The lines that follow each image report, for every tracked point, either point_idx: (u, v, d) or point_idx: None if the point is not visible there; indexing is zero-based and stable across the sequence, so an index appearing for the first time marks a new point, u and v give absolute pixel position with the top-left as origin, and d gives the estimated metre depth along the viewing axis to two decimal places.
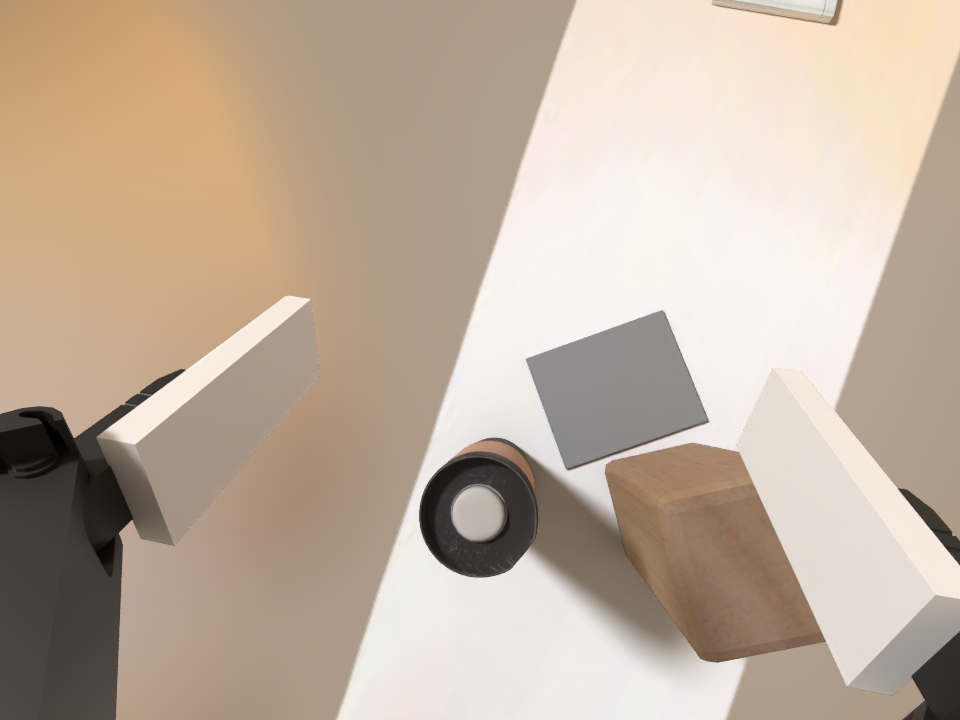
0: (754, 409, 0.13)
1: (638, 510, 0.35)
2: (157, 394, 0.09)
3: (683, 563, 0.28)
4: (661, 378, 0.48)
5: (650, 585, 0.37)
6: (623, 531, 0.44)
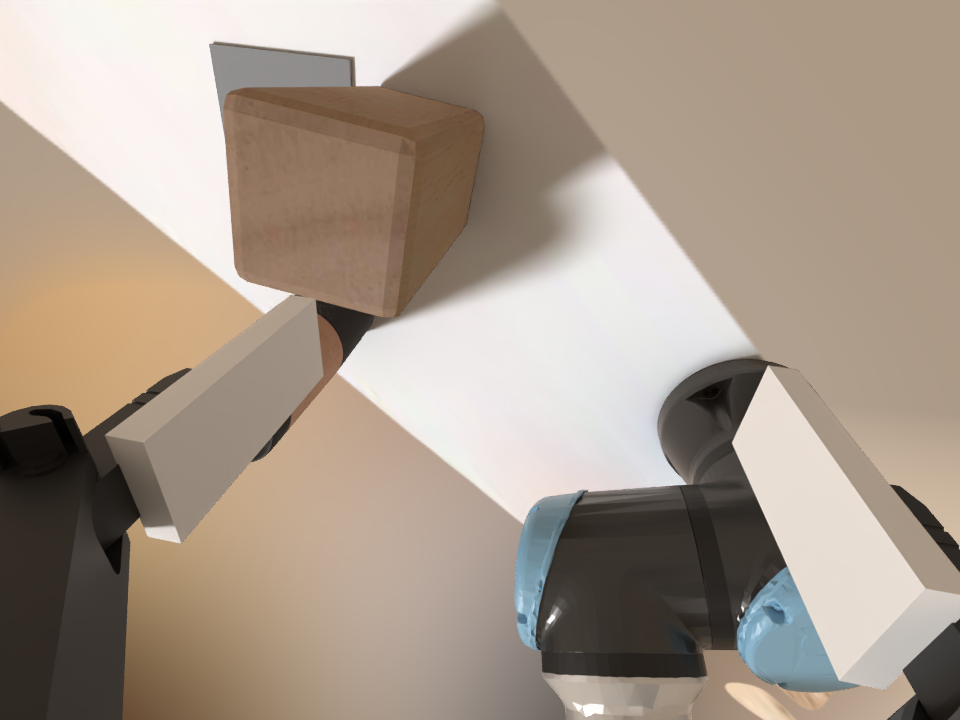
0: (750, 407, 0.13)
1: None
2: (165, 392, 0.09)
3: (295, 290, 0.26)
4: None
5: None
6: None
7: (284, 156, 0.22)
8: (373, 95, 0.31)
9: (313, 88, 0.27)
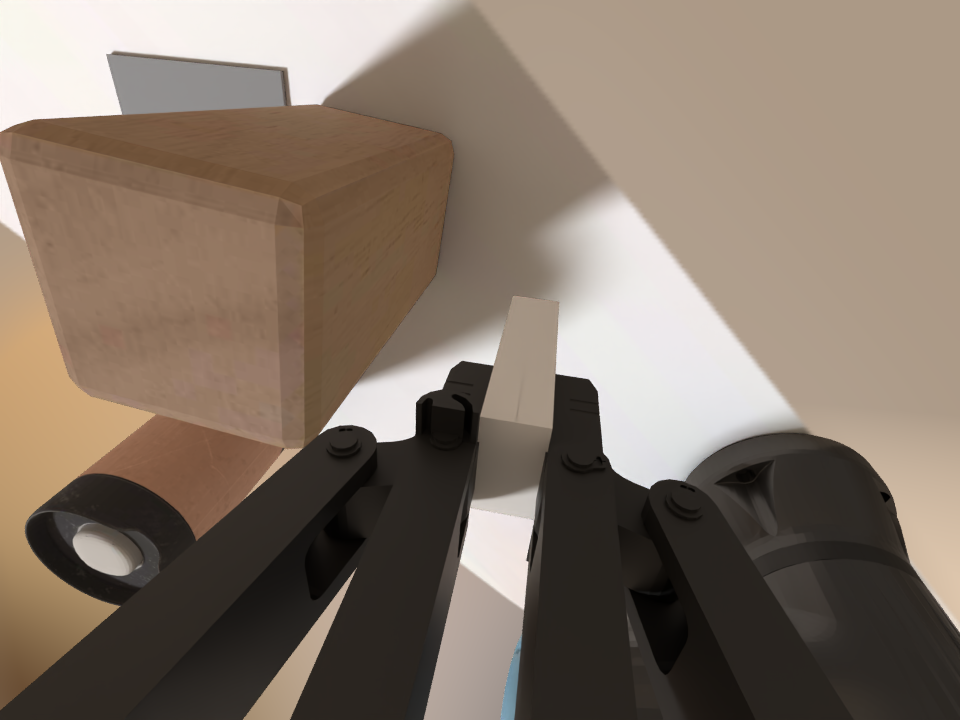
0: None
1: None
2: (492, 381, 0.11)
3: (157, 411, 0.18)
4: None
5: None
6: None
7: (100, 226, 0.14)
8: (292, 119, 0.23)
9: (191, 113, 0.19)
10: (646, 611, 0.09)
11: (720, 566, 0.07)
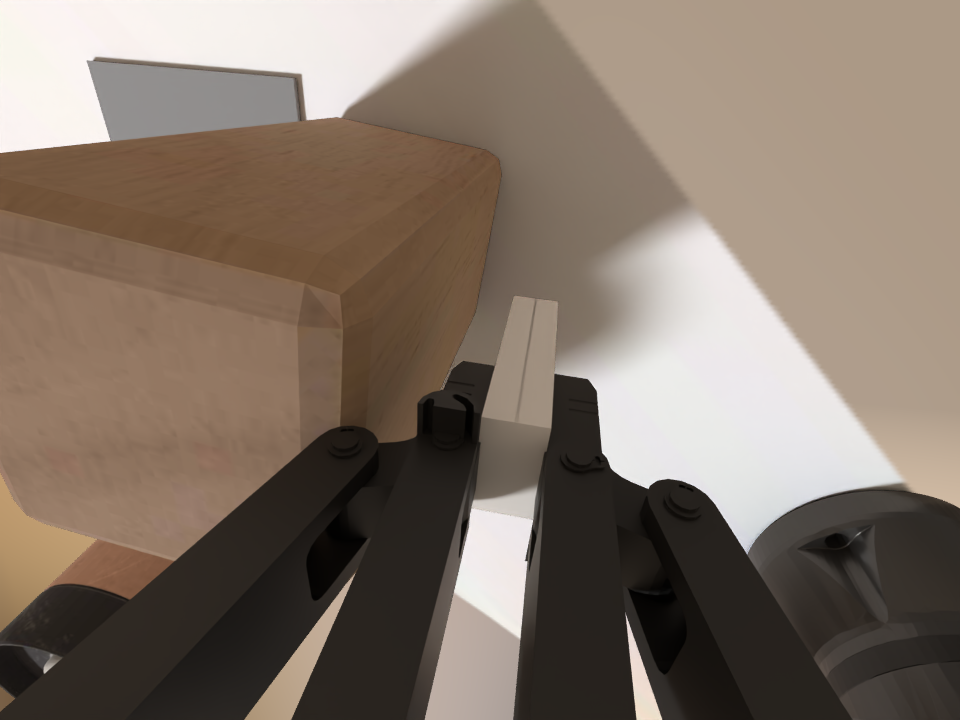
0: None
1: None
2: (493, 381, 0.11)
3: (133, 548, 0.13)
4: (207, 127, 0.26)
5: None
6: None
7: (31, 321, 0.09)
8: (311, 139, 0.18)
9: (179, 137, 0.14)
10: (645, 611, 0.09)
11: (719, 565, 0.07)
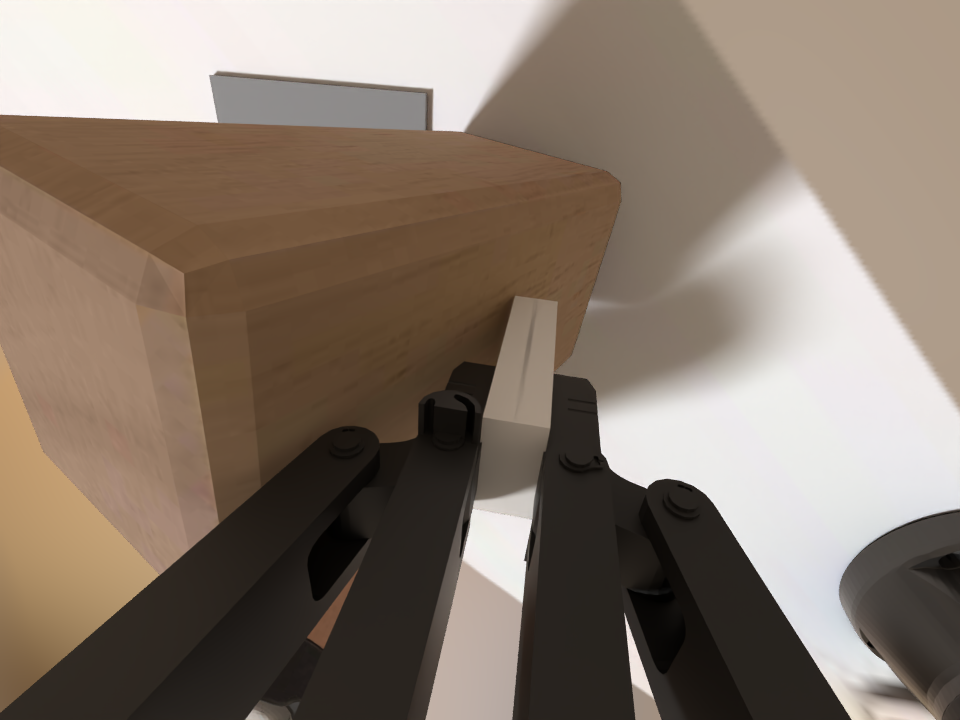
0: None
1: None
2: (495, 381, 0.11)
3: None
4: None
5: None
6: None
7: (2, 266, 0.10)
8: (395, 142, 0.17)
9: (251, 126, 0.15)
10: (643, 610, 0.09)
11: (718, 565, 0.07)
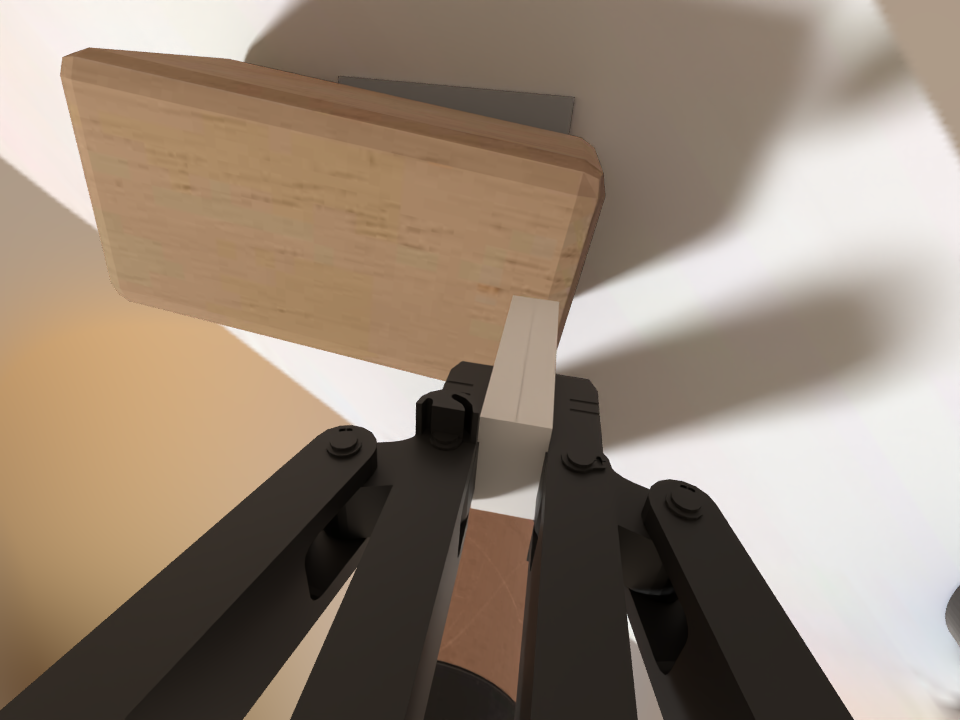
0: None
1: None
2: (492, 380, 0.11)
3: None
4: None
5: None
6: None
7: None
8: (416, 105, 0.21)
9: (343, 85, 0.23)
10: (646, 611, 0.09)
11: (720, 565, 0.07)
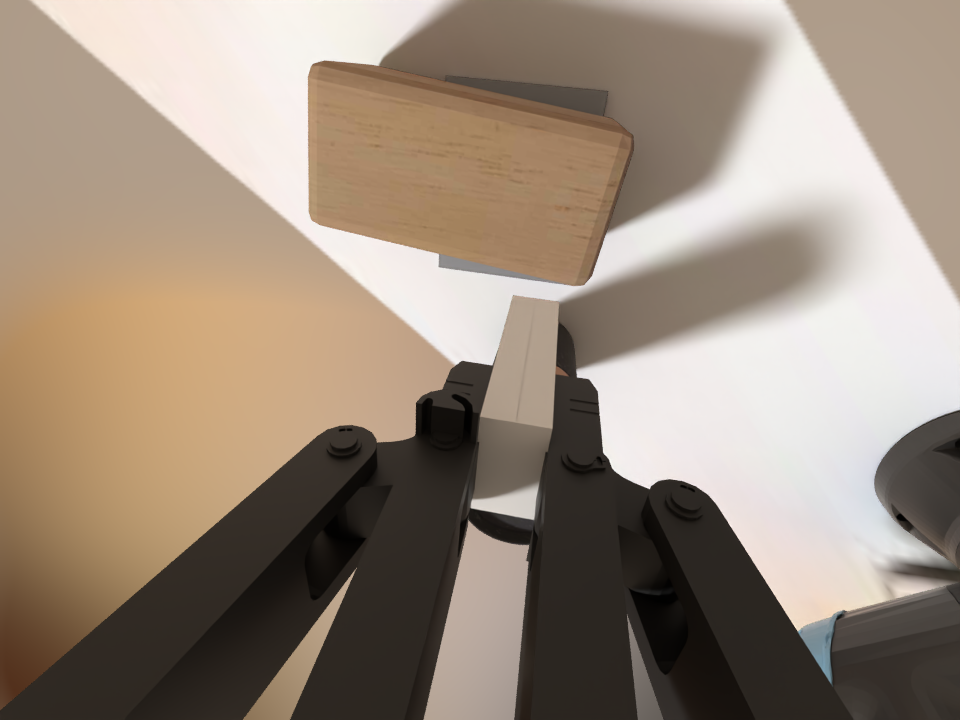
0: None
1: None
2: (492, 380, 0.11)
3: None
4: None
5: None
6: None
7: None
8: (507, 96, 0.32)
9: (452, 83, 0.34)
10: (646, 612, 0.09)
11: (721, 566, 0.07)
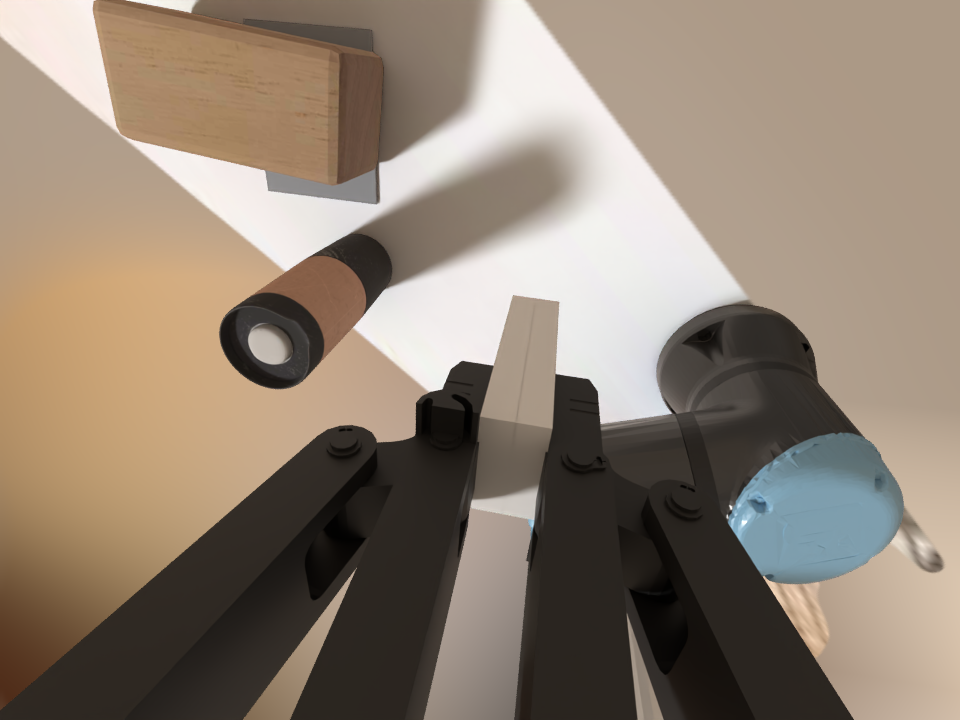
0: None
1: None
2: (492, 380, 0.11)
3: None
4: None
5: (232, 161, 0.41)
6: None
7: None
8: (277, 32, 0.40)
9: (243, 24, 0.42)
10: (646, 611, 0.09)
11: (720, 565, 0.07)
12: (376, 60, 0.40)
